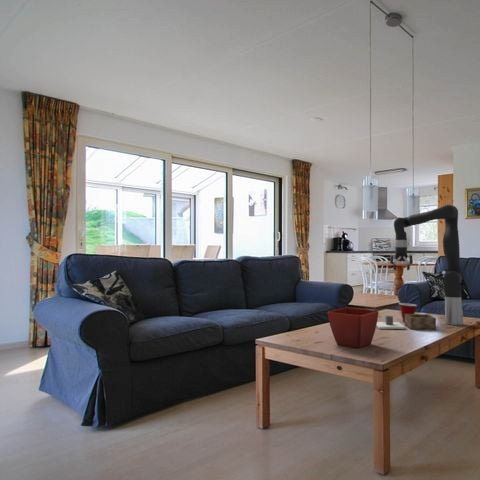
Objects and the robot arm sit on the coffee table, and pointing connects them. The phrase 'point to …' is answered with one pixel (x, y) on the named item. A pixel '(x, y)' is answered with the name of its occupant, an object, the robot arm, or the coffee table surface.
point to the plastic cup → (407, 309)
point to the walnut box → (420, 322)
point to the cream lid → (389, 324)
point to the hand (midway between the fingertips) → (401, 270)
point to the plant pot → (353, 326)
